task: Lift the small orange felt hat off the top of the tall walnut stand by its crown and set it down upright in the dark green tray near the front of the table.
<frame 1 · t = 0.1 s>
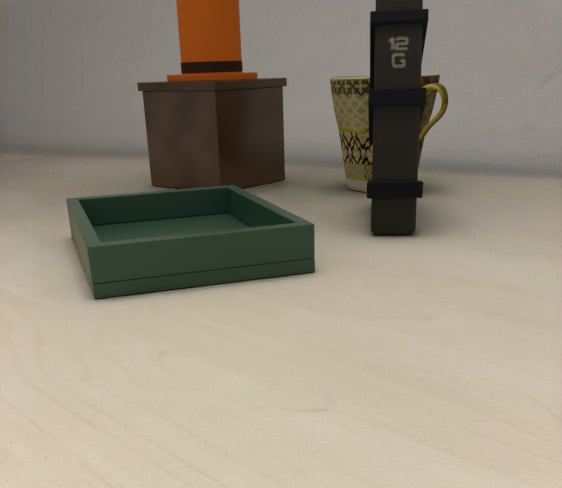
tray: (179, 252, 46), on the table
magazine: (391, 219, 55), on the table
hat: (212, 80, 70), point 10 cm above the table, touching stand
stand: (219, 182, 74), on the table
ceramic cup: (391, 190, 67), on the table
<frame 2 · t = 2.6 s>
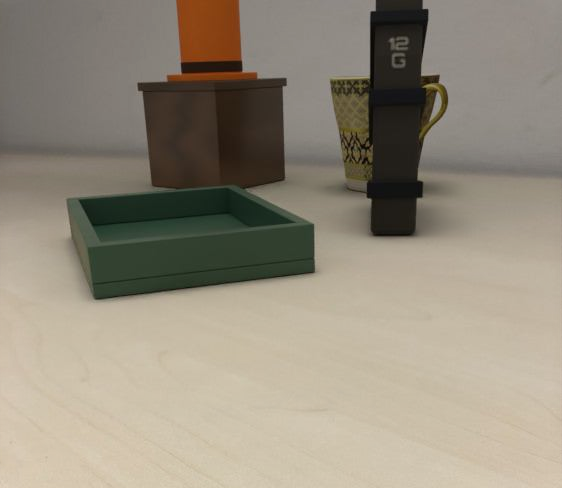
nothing on the table moved.
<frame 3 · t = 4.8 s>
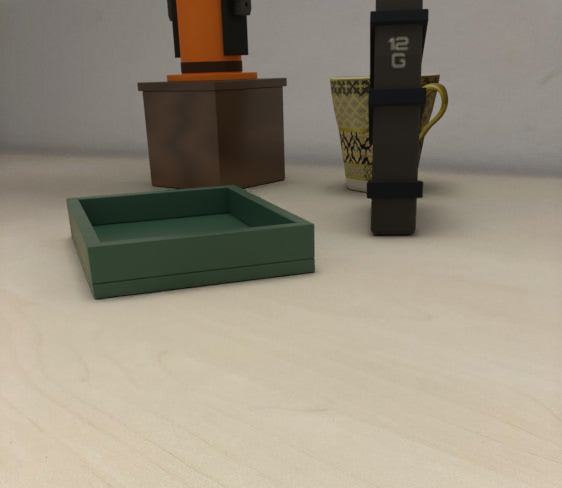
hand: (211, 56, 69), 12 cm above the table, tool pointing down, fingers closed on hat, 6 cm apart
hat: (212, 80, 70), point 10 cm above the table, touching gripper, stand
everything else where it was.
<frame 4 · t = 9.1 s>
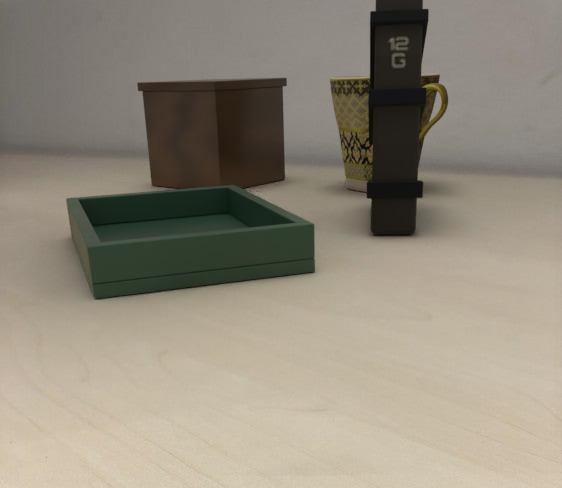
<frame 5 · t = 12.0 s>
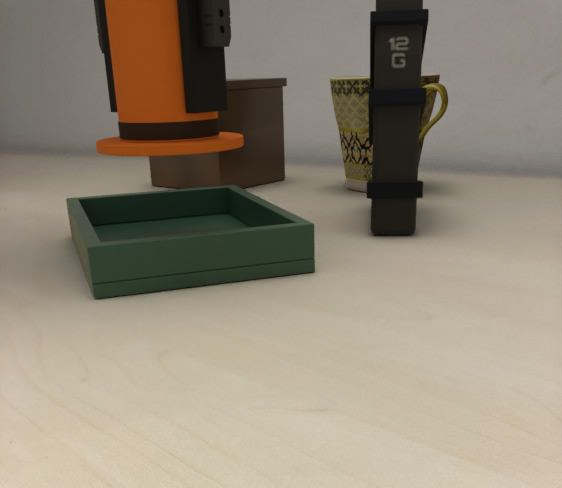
hand: (167, 110, 43), 9 cm above the table, tool pointing down, fingers closed on hat, 6 cm apart
hat: (171, 148, 44), point 7 cm above the table, touching gripper
everything else where it was.
when the fingers open (3 cm above the table, at t = 13.8 s): hat stays where it is, resting on tray.
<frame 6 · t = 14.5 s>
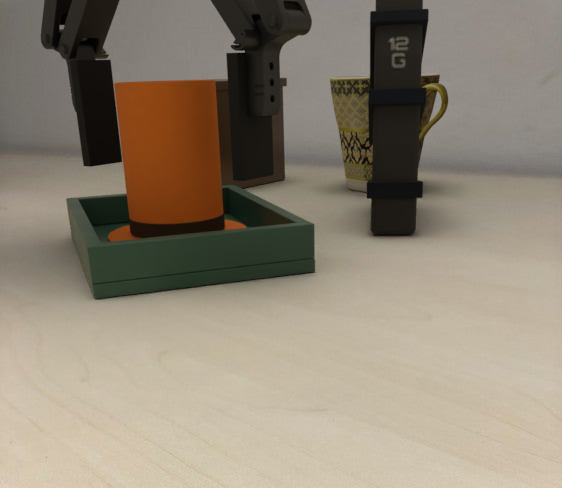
hand: (171, 171, 44), 5 cm above the table, tool pointing down, fingers open, 13 cm apart
hat: (179, 240, 46), point 1 cm above the table, touching tray
everything else where it was.
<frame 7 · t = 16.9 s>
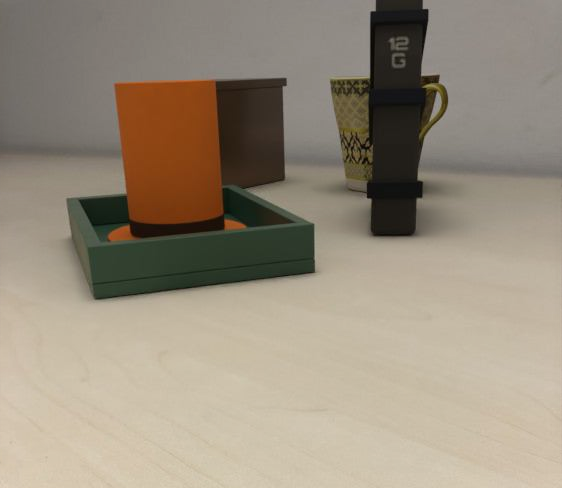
nothing on the table moved.
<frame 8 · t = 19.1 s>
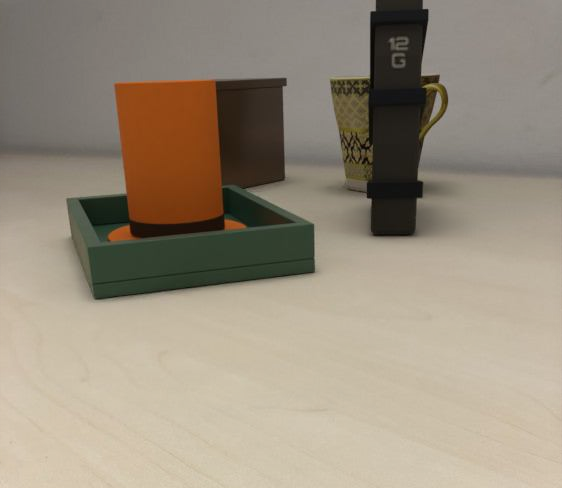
nothing on the table moved.
at the end: hat inside the target area in the tray (0.1 cm from its centre), point 0.8 cm above the tray's base; hat tilted 0°; the gripper is holding nothing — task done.
